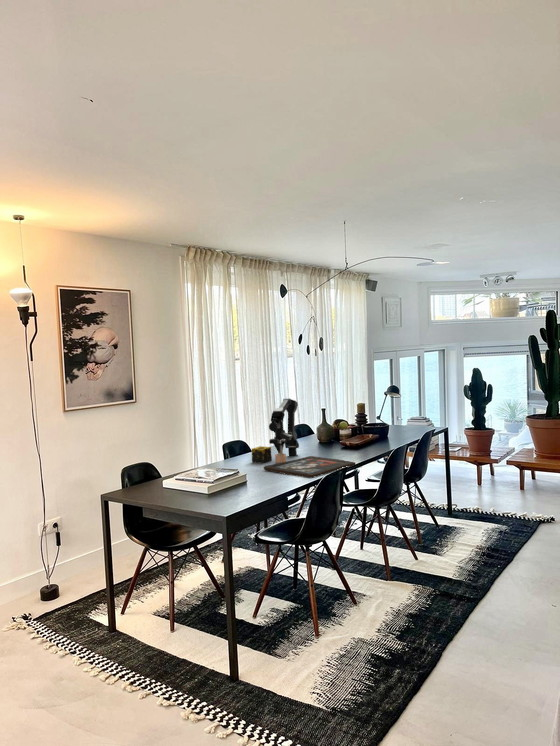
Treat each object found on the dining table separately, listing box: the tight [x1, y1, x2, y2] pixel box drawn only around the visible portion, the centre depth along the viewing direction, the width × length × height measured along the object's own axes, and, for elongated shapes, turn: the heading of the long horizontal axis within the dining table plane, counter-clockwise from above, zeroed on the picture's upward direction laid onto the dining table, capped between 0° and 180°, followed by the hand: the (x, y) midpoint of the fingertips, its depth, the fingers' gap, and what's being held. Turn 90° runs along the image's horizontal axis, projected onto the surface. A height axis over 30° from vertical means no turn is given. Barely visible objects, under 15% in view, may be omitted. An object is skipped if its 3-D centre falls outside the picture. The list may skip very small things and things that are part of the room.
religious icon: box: [263, 455, 356, 478], centre depth 350 cm, size 40×45×3 cm
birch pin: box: [277, 446, 284, 455], centre depth 372 cm, size 3×3×10 cm
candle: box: [251, 445, 273, 464], centre depth 378 cm, size 10×10×10 cm
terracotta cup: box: [274, 453, 287, 464], centre depth 372 cm, size 7×7×6 cm
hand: (280, 452), depth 372 cm, fingers closed on birch pin, 3 cm apart
